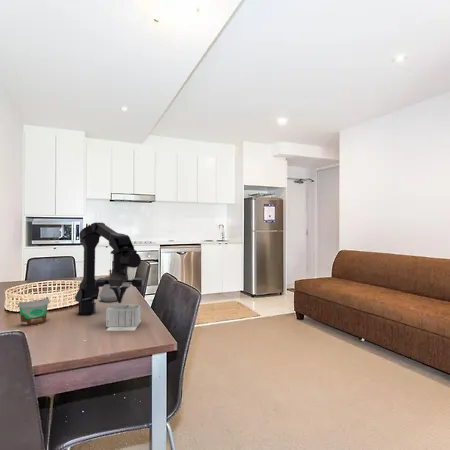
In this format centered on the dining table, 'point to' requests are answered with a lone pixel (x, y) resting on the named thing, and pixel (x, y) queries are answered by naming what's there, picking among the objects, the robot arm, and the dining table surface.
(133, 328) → the white flat slab
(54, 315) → the dining table surface
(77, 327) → the dining table surface
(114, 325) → the supplement box
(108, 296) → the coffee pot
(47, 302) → the food container
